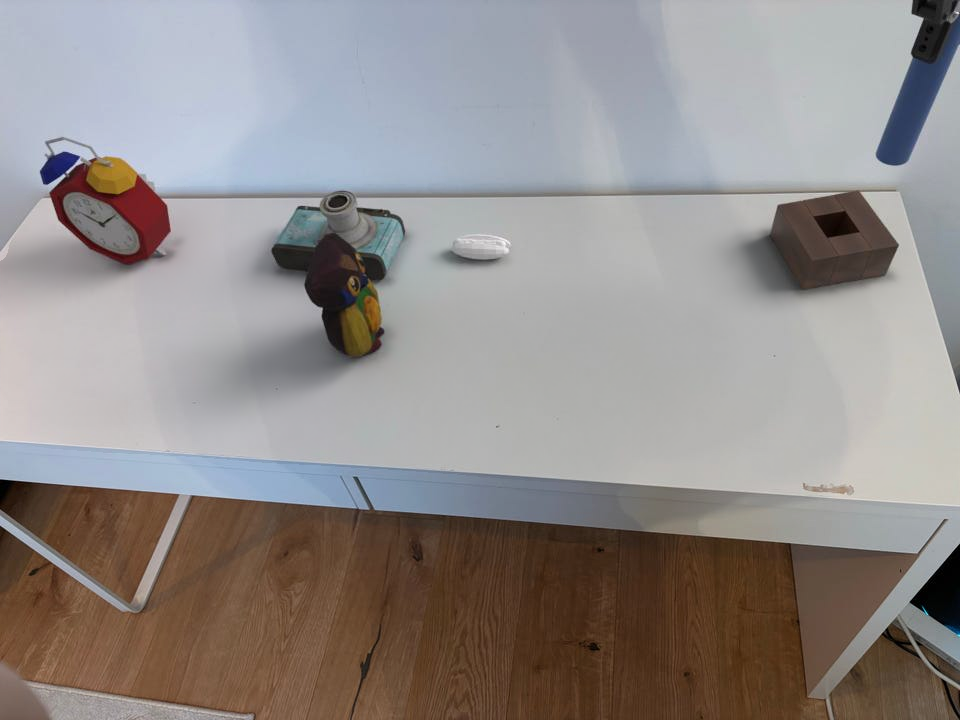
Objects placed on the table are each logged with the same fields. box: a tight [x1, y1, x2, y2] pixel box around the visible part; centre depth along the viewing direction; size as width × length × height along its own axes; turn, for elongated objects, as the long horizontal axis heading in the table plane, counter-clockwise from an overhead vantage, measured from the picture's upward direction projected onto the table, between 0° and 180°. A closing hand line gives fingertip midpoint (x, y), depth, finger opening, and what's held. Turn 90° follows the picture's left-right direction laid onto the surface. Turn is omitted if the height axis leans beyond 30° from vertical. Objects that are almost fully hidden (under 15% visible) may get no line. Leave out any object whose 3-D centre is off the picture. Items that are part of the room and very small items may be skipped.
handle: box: [875, 1, 960, 167], centre depth 65 cm, size 3×3×16 cm
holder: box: [769, 190, 900, 290], centre depth 90 cm, size 10×10×5 cm
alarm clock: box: [39, 136, 172, 265], centre depth 102 cm, size 15×9×20 cm, turn 72°
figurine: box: [303, 232, 385, 358], centre depth 86 cm, size 10×7×15 cm
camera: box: [270, 190, 406, 280], centre depth 100 cm, size 16×10×10 cm
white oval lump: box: [451, 233, 512, 261], centre depth 99 cm, size 3×8×3 cm, turn 79°
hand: (936, 49), depth 62 cm, fingers closed on handle, 3 cm apart
